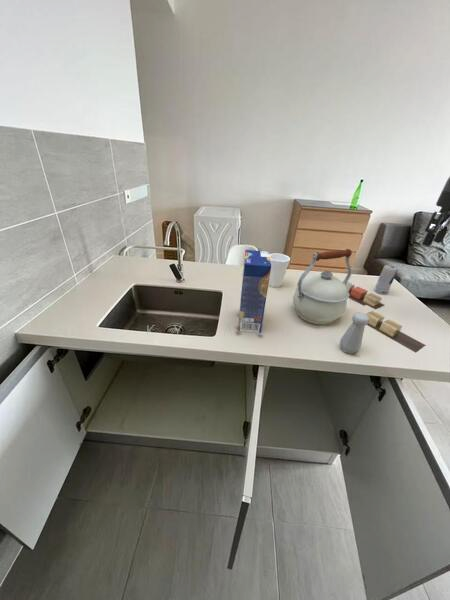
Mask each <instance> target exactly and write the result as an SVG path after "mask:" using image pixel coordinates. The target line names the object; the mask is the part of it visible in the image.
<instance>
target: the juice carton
mask: <svg viewBox="0 0 450 600" xmlns="http://www.w3.org/2000/svg"><path fill="white" fill-rule="evenodd" d="M269 254H270V252H269V251H266V250H254V249H244V258H243V259H244V261H243V269H242V282H241V291H240V302H239V313H238V314H239V315H238V329H237V331H238V332H245V333H247V332H249V333H258V334H260V333H262V327H263V322H264V314H265V310H266V309H265V308H266V304H267V303H266V302H267V297H268V296H267V295H268V290H269V285H268V284H269V278H270V272H271V261H270V256H269Z"/></svg>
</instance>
